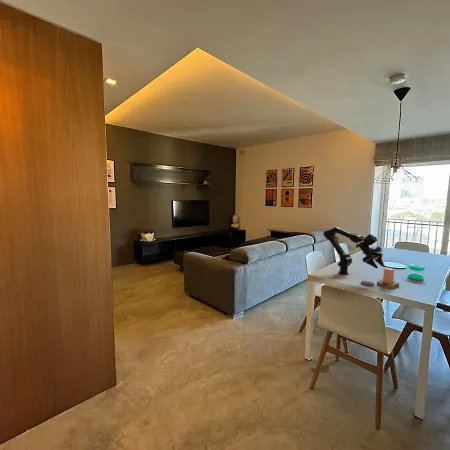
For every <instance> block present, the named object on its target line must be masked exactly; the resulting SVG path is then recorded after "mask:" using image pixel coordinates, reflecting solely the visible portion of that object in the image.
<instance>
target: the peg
mask: <svg viewBox="0 0 450 450" xmlns="http://www.w3.org/2000/svg"><path fill="white" fill-rule="evenodd" d="M382 277H383V282H384V283H388V284H393V281H394V279H395V269H394V268H390V267H385V268H383V276H382Z"/></svg>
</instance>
